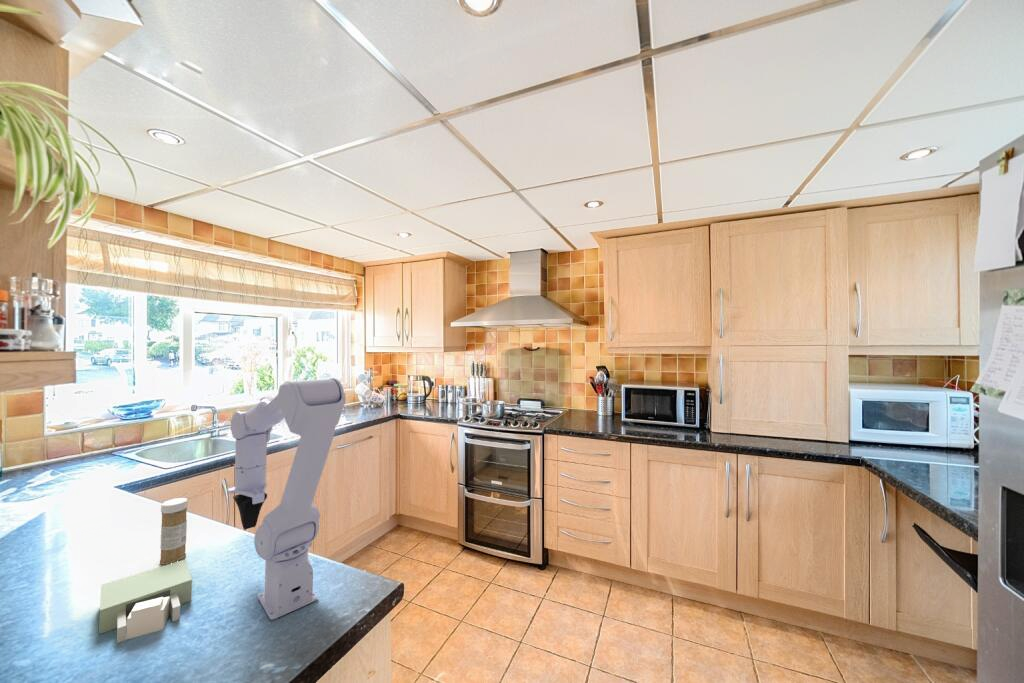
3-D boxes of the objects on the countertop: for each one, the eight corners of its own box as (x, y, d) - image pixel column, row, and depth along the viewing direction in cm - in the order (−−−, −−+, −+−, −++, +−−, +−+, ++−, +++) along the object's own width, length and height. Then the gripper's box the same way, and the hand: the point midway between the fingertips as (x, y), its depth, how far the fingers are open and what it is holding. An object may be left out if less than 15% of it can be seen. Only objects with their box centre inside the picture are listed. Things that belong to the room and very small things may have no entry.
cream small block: (162, 629, 65) (163, 603, 65) (126, 640, 63) (126, 612, 63) (169, 615, 68) (169, 590, 69) (134, 624, 66) (135, 599, 66)
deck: (195, 613, 69) (195, 591, 69) (98, 650, 60) (98, 625, 60) (184, 578, 79) (185, 559, 79) (100, 606, 71) (101, 584, 71)
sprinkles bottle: (170, 555, 88) (172, 497, 88) (191, 554, 89) (192, 496, 89) (153, 566, 84) (155, 505, 84) (175, 565, 84) (177, 504, 84)
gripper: (222, 461, 85) (220, 522, 85) (236, 477, 75) (234, 545, 75) (258, 455, 90) (257, 512, 90) (276, 469, 80) (274, 533, 80)
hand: (249, 527), depth 83 cm, fingers closed
